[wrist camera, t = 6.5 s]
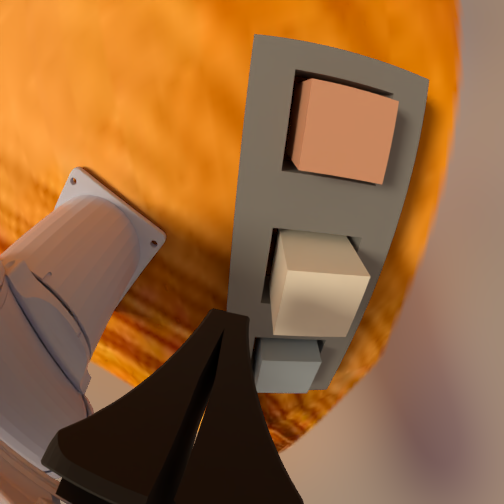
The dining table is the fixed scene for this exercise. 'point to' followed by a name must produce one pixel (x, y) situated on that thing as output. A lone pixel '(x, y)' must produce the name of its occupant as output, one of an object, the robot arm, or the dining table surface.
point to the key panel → (314, 180)
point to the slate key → (285, 364)
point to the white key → (315, 284)
